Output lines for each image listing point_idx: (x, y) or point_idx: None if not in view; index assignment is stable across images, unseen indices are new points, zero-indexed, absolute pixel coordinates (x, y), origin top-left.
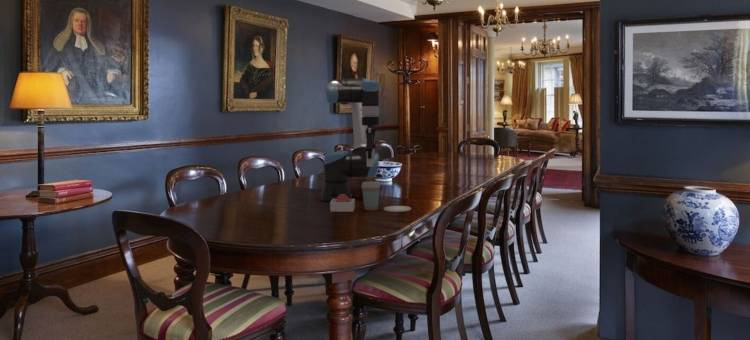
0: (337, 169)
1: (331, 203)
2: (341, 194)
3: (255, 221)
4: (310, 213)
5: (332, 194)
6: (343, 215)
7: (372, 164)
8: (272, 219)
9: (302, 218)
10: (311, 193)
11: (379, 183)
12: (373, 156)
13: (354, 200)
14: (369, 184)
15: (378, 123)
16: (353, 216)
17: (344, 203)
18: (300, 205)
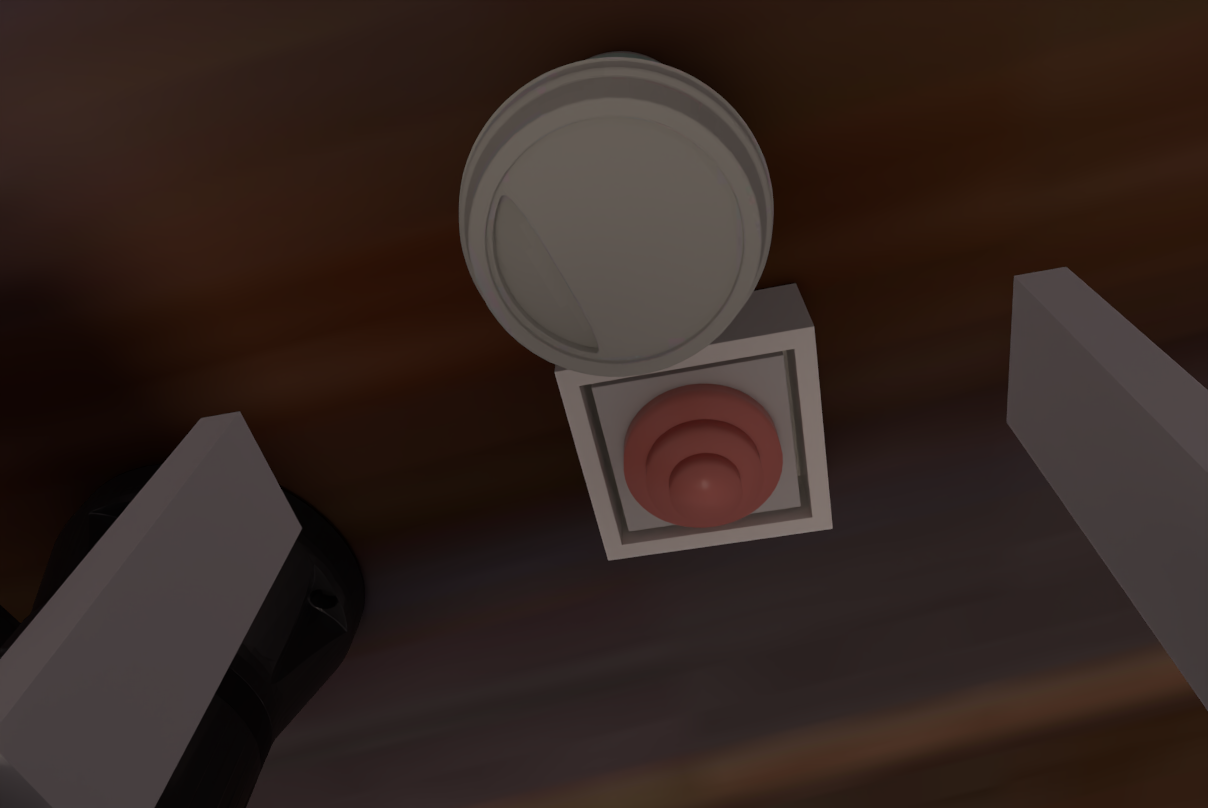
0: None
1: (828, 512)
2: (695, 508)
3: (1194, 772)
4: (906, 581)
5: (320, 624)
6: (998, 320)
7: (1090, 304)
8: (1136, 718)
9: None
10: None
11: (582, 91)
12: (165, 551)
13: None
14: (762, 231)
15: None
16: (1056, 212)
17: (819, 404)
18: (586, 716)
